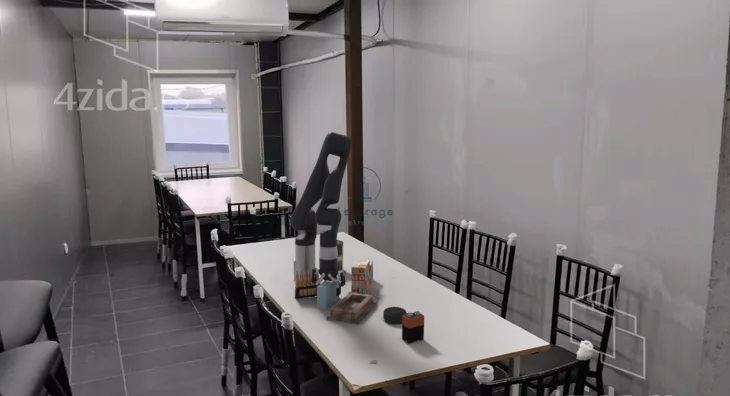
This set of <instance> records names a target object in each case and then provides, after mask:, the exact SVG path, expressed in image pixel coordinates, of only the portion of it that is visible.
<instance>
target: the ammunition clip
mask: <svg viewBox="0 0 730 396" xmlns="http://www.w3.org/2000/svg"><path fill="white" fill-rule="evenodd" d="M319 278H320V274H319V272H318V273H317V280H318V279H319ZM294 281H295V283H294V284H295V286H294V299H295V300H301V299H307V298H308V299H309V297H310V298H315V296H317V292H316V284H315V283H312V278H311V274H310V270H309V271H308V279H307V274H306V270H305V271H304V279H303V275H302V271H300V279H299V276H298V271H297V272H296V280H294Z"/></svg>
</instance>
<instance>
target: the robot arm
mask: <svg viewBox="0 0 730 396" xmlns="http://www.w3.org/2000/svg"><path fill="white" fill-rule="evenodd" d="M351 148H352V139H351V137H349V136H348V135H345V134H340V133H338V132H334V131H329V132H328V133H327V134H326V135H325V138H324V140H323V143H322V146H321V149H320V152H319V155H318V158H317V160H316V163H315V166H314V167H313V170H312V172H311V174H310V176H309V178H308V181H307V184H306V186H305V188H304V190H303V193H302V195H301V197H300V200H299V201H298V202H297V205H296V206H295V208H294V210H293V212H292V214H291V216H290V225H291V228H292V229H293V230H295V231H301V233H300V234H298V235H297V236H296V237H295V239H294V244H295V245H294V254H295V255H294V257H295V258H294V259H293V280H294V281H295V280H296V272H297V271H298V276H299V279H300V271H302V275H303V279H304V271H305V270H306V274H307V279H308V271H309V270H310V274H311V278H312V283H315V284H316V292H317V286H318V285H320V284H321V283H322V282H324V281H327V280H328V281H332V282H333V283H334V284H335V285H336V286H337V288H336V296H339V297H340V295H341V294H342V288H343V287H344V286H346V284H347V283H346V272H345V270H343V271H341V272H338V269H337V268H338V250H337V240H338V232H339V227H340V224H341V220H342V213H341V211H340V210H339V208H330V207H329V206H332V205H336V204H338V203H339V202H340V199H341V191H342V184H343V179H344V175H345V173H346V168H347V164H348V161H349V157H350V154H351ZM329 155H332V156H336V157H339V160H338V163H337V165H336V167H335V168H334V169H333V170H332V171H331V173H330V169H329V166H328V165H329V163H328V157H329ZM317 203H319V204H318V206H317V208H316V211H315V210H314V209H313V208H314V206H315V205H316V204H317ZM318 225H319V226H327V227H328V226H329V227H331V228H330V229H327V230H323V231H321V232H320V233H319V251H318V259H319V260H318V261H319V262H318V263H319V264H318V268H317V267H316V239H317V235H318V234H317V233H318ZM318 272H319V279H318V280H317V273H318ZM338 276H339V277H338ZM338 278H339V279H338Z"/></svg>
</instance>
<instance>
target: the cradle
mask: <svg viewBox="0 0 730 396" xmlns="http://www.w3.org/2000/svg"><path fill="white" fill-rule="evenodd" d="M377 305H378V300H374V295H372V294H367V293H366V294H358V293H351V292H348V293H347V294H346V295H345V296H344V297H342V298H341V299H340V301H338V302H337V303H336V304H334V306H332V307H331V308H330V311H329V313H327V315H326V319H327V320H328V321H335V322H340V323H347V324H352V325H353V324H356V325H359V324H360V323H361V322H362V321H363V320H364V319H365V318H366V317H367V316H368V315H369V313H371V311H372V310H374V308H375V307H376V306H377Z"/></svg>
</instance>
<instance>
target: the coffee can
mask: <svg viewBox="0 0 730 396" xmlns="http://www.w3.org/2000/svg"><path fill="white" fill-rule="evenodd" d="M337 250H338V268H337V269H338V272H342V271H344V241H343V240H339V239H337Z"/></svg>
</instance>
